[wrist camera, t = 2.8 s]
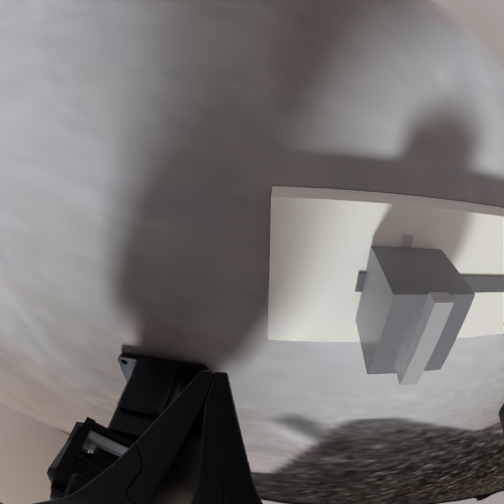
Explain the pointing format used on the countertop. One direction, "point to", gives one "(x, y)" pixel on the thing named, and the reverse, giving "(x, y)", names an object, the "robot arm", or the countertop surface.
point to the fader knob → (410, 311)
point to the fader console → (357, 253)
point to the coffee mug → (502, 417)
